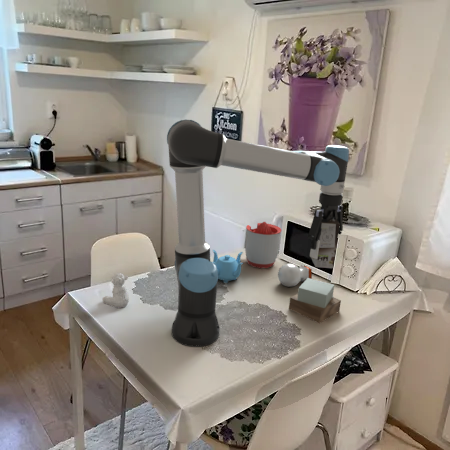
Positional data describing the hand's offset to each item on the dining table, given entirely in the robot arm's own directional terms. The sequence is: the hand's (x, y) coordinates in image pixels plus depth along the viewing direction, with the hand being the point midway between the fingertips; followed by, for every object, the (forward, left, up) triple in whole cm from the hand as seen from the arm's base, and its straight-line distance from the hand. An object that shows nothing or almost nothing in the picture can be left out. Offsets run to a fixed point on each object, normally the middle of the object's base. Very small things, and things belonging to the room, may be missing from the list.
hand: (322, 254), depth 150 cm
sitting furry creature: (-54, +45, -22) cm, 74 cm away
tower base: (-1, 0, -22) cm, 22 cm away
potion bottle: (+10, +18, -22) cm, 30 cm away
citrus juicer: (+15, +41, -22) cm, 49 cm away
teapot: (-9, +38, -22) cm, 45 cm away
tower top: (-1, 0, -17) cm, 17 cm away
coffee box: (0, 0, -4) cm, 4 cm away
